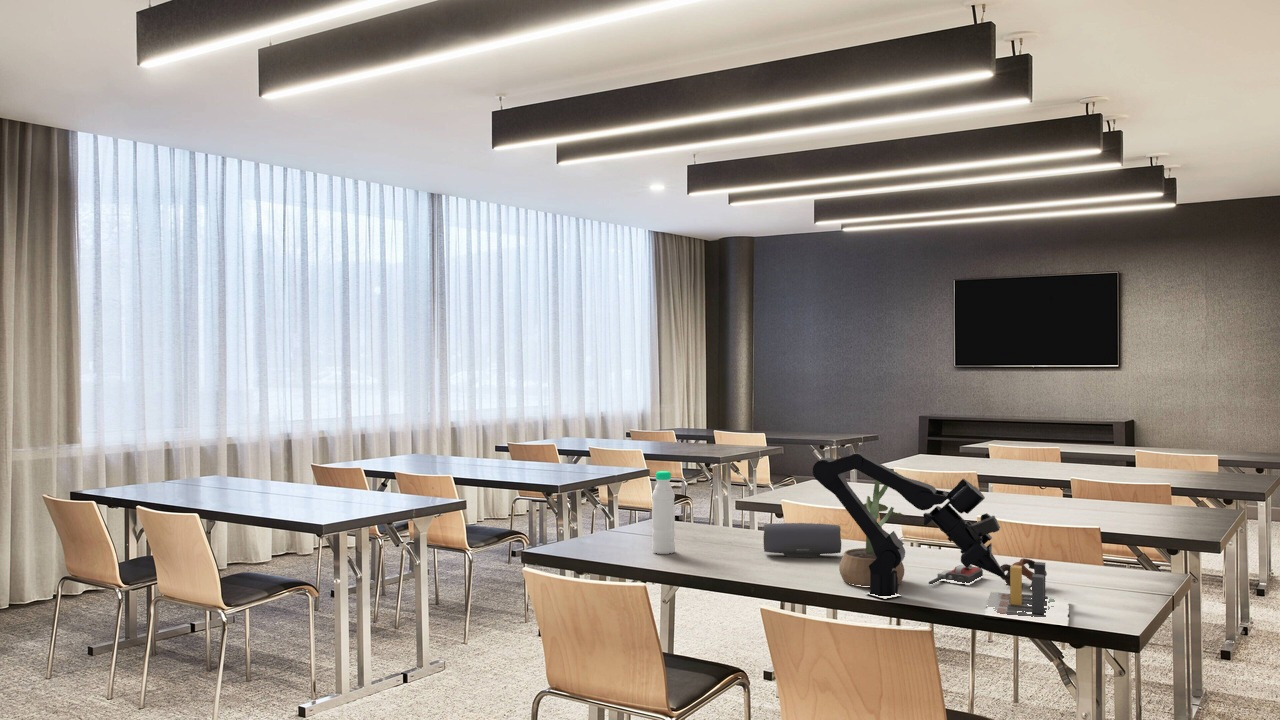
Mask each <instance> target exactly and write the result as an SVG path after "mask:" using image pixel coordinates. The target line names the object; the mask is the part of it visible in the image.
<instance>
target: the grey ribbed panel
mask: <svg viewBox="0 0 1280 720" xmlns="http://www.w3.org/2000/svg"><path fill="white" fill-rule="evenodd" d="M1033 570H1034V571H1033V573H1034V574H1033V575H1032V581H1031V583H1032V590H1031V594H1027V593H1022V605H1013V604H1010V593H1005V592H996V591H990V592H989V596H988V599H987V602H986V605H988V606H985V608H986V607H995V608H993V609H995V610H994V611H996V610H997V611H996V612H997V613H1000V614H1007V615H1018V616H1031V617H1033V616H1034V617H1046V615H1044V613H1046V611H1045V610H1047V608H1044V606H1047V601H1045V599H1048V597H1049V596H1047V593H1046V582H1045V581H1046V580H1045V579H1046V577H1045V571H1046V562H1043V561H1035V563H1034V569H1033ZM1031 598H1032V599H1031ZM1050 602H1055V600H1054V599H1049V601H1048V603H1050ZM1027 604H1029V605H1032V606H1028V605H1027ZM1051 607H1054V606H1051ZM1049 609H1050V607H1049V606H1048V610H1049ZM1017 611H1022V612H1018V613H1017ZM1024 611H1025V612H1024ZM1026 612H1032V614H1027V613H1026Z"/></svg>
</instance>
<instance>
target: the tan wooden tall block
mask: <svg viewBox="0 0 1280 720" xmlns="http://www.w3.org/2000/svg"><path fill="white" fill-rule="evenodd" d="M1010 565H1011V567H1010V584H1009V586H1010V587H1009V588H1010V593H1009V594H1010V604H1013V605H1022V594H1023V575H1022V566H1017V565H1012V564H1010Z"/></svg>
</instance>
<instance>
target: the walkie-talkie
mask: <svg viewBox="0 0 1280 720" xmlns="http://www.w3.org/2000/svg"><path fill="white" fill-rule="evenodd" d="M983 572H984V569H982V568H979V567H977V566H973V565H970V566H969V567H967V568H966V567H965V566H964V565H963V564H959V565H957V566H955V567H954V569H952V570H944V571H941V572H939V573H937V574H936V575H937V577H936V578H934V579H932V580H930V581H928V584H929V585H930V584H933V583H935V582H937V581H939V580H941V579H946V580H954V581H957V582H962V583H965V582H966V583H970V582H972V581H974V580H975V579H977V578H979V577H981V576H984V573H983ZM939 582H940V581H939ZM937 583H938V582H937ZM935 584H936V583H935ZM933 585H934V584H933Z"/></svg>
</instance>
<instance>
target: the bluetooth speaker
mask: <svg viewBox="0 0 1280 720" xmlns="http://www.w3.org/2000/svg"><path fill="white" fill-rule="evenodd" d="M763 552H765V553H769V554H771V553H773V554H783V556H785V557H786V556H790V557H789V558H820V556H821V555H831V554H840V553H841V552H842V538H841V525H839V524H838V525H837V524H831V523H830V524H827V523H826V524H825V523H813V522H810V523H807V522H791V523H789V522H785V523H783V522H782V523H781V522H779V523H766V524H763Z"/></svg>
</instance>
